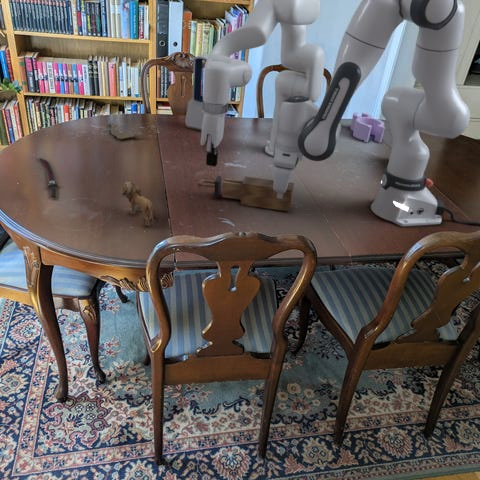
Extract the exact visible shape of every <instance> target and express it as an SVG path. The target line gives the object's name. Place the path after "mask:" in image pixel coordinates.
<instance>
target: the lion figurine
mask: <svg viewBox="0 0 480 480" xmlns="http://www.w3.org/2000/svg"><path fill="white" fill-rule="evenodd" d="M119 193H120V194H121V196H122V197H124V196H125V198H126V199H127V200H128V202H129V203H130V207H131V211H130V212H129V213H130V215H135V214H136V211H137V212H141V214H142V216H143V218H144V219H145V223H144V225H145V227H149V226H150V221H152V223H153V225H155V226H159V222H156V221H155V219H154V217H153V216H154V215H153V204H152V202H151V200H150V199H148V198H146V197H145V196H144V195H143V194H142V192H141V190H140V187H138V185H136V184H135V183H133V182H132V181H125V182H124V186H122V188H121V189H119ZM136 207H137V208H136ZM148 214H149V216H148Z"/></svg>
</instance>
